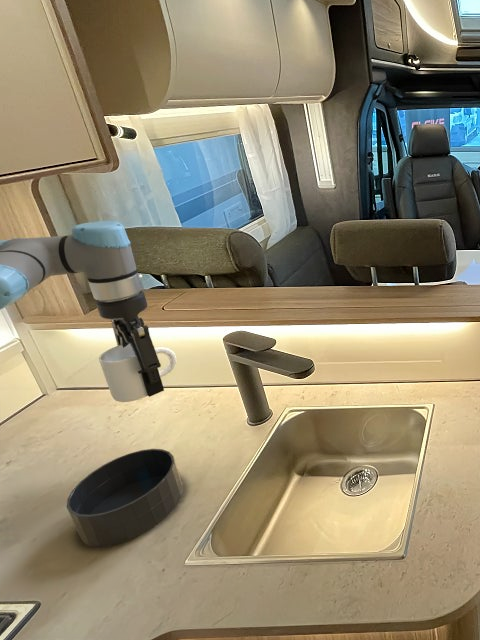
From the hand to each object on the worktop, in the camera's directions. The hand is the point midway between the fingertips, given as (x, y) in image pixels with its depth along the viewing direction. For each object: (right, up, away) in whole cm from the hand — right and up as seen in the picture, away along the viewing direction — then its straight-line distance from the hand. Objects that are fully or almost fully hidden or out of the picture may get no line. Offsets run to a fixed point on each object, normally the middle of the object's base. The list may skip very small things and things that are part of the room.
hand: (147, 385), depth 93 cm
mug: (0, -1, 0) cm, 1 cm away
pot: (+4, -23, -8) cm, 25 cm away
